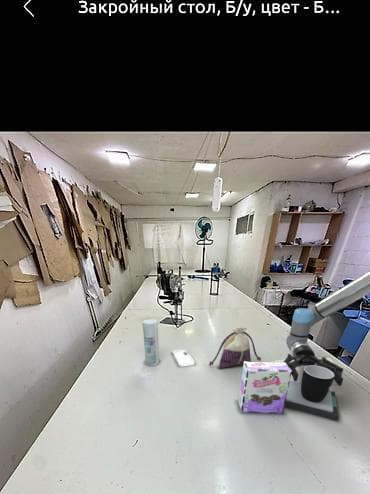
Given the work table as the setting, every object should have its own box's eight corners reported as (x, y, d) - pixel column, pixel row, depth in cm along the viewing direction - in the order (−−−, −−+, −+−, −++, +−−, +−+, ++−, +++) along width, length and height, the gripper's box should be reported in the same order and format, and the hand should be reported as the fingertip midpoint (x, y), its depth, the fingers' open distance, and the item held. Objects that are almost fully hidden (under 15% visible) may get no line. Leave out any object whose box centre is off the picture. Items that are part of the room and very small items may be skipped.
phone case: (172, 353, 119) (179, 366, 106) (172, 350, 119) (179, 364, 105) (186, 351, 121) (195, 365, 108) (186, 349, 120) (195, 362, 107)
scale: (333, 396, 87) (335, 389, 86) (336, 421, 74) (339, 414, 73) (287, 385, 93) (288, 379, 92) (282, 406, 81) (284, 399, 80)
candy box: (240, 413, 78) (246, 369, 71) (237, 402, 83) (242, 360, 76) (283, 414, 77) (293, 370, 70) (277, 403, 83) (286, 361, 76)
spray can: (142, 364, 108) (139, 322, 100) (149, 358, 114) (147, 318, 105) (155, 366, 106) (153, 324, 98) (161, 360, 111) (160, 320, 103)
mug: (328, 407, 76) (337, 381, 72) (298, 401, 79) (305, 375, 75) (322, 388, 86) (330, 363, 82) (296, 383, 89) (302, 359, 85)
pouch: (214, 374, 100) (217, 332, 92) (206, 365, 107) (208, 326, 99) (263, 365, 108) (269, 325, 100) (252, 357, 115) (257, 320, 107)
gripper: (332, 364, 96) (356, 394, 77) (269, 358, 100) (276, 385, 81) (338, 347, 93) (364, 374, 74) (271, 342, 97) (280, 366, 78)
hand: (318, 380), depth 78 cm, fingers open, 13 cm apart
